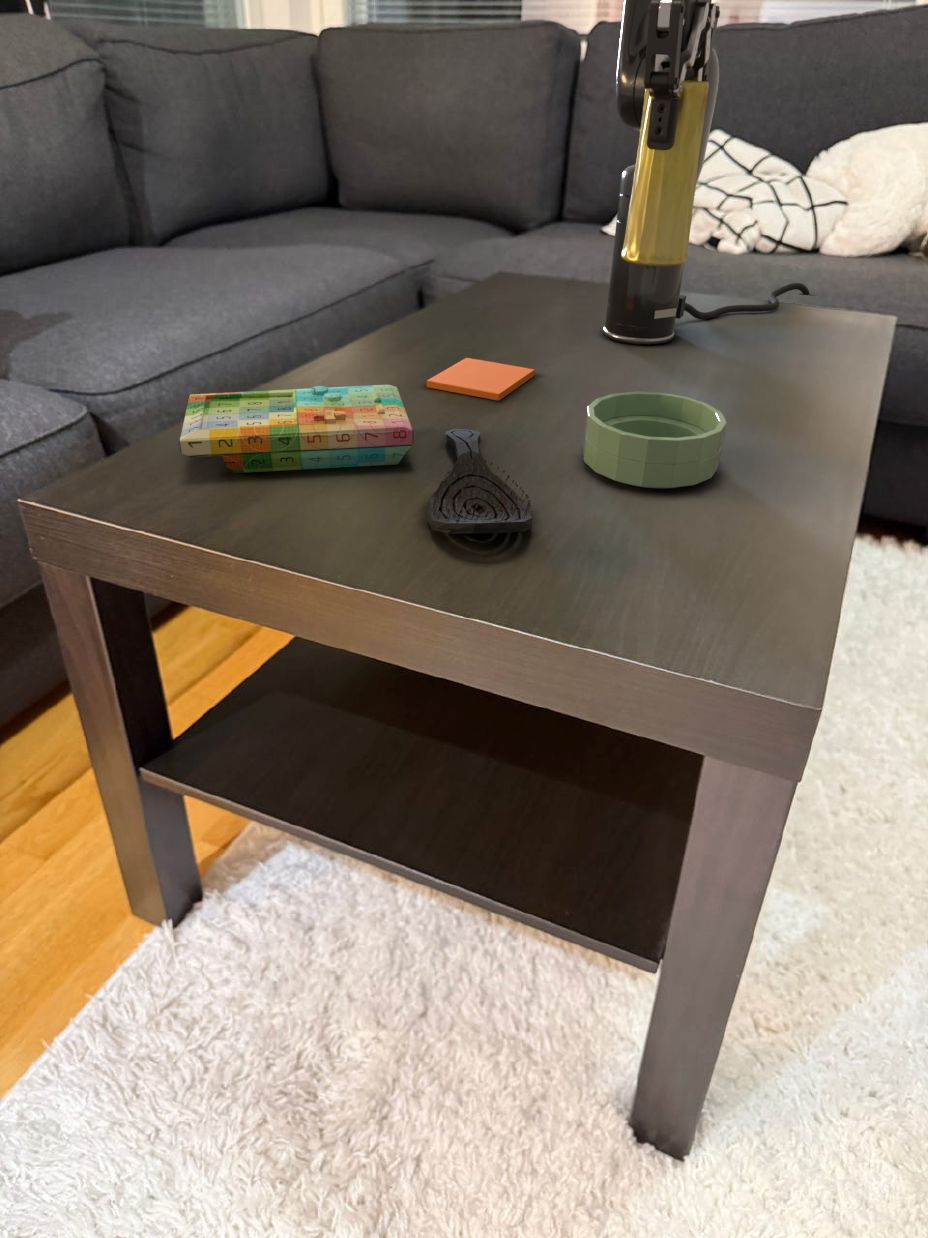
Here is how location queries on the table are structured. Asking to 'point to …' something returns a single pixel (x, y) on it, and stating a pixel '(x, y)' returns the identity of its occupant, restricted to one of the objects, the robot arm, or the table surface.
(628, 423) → the bowl
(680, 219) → the vase
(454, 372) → the square tile
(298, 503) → the table surface
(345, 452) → the puzzle game
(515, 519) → the hairbrush
